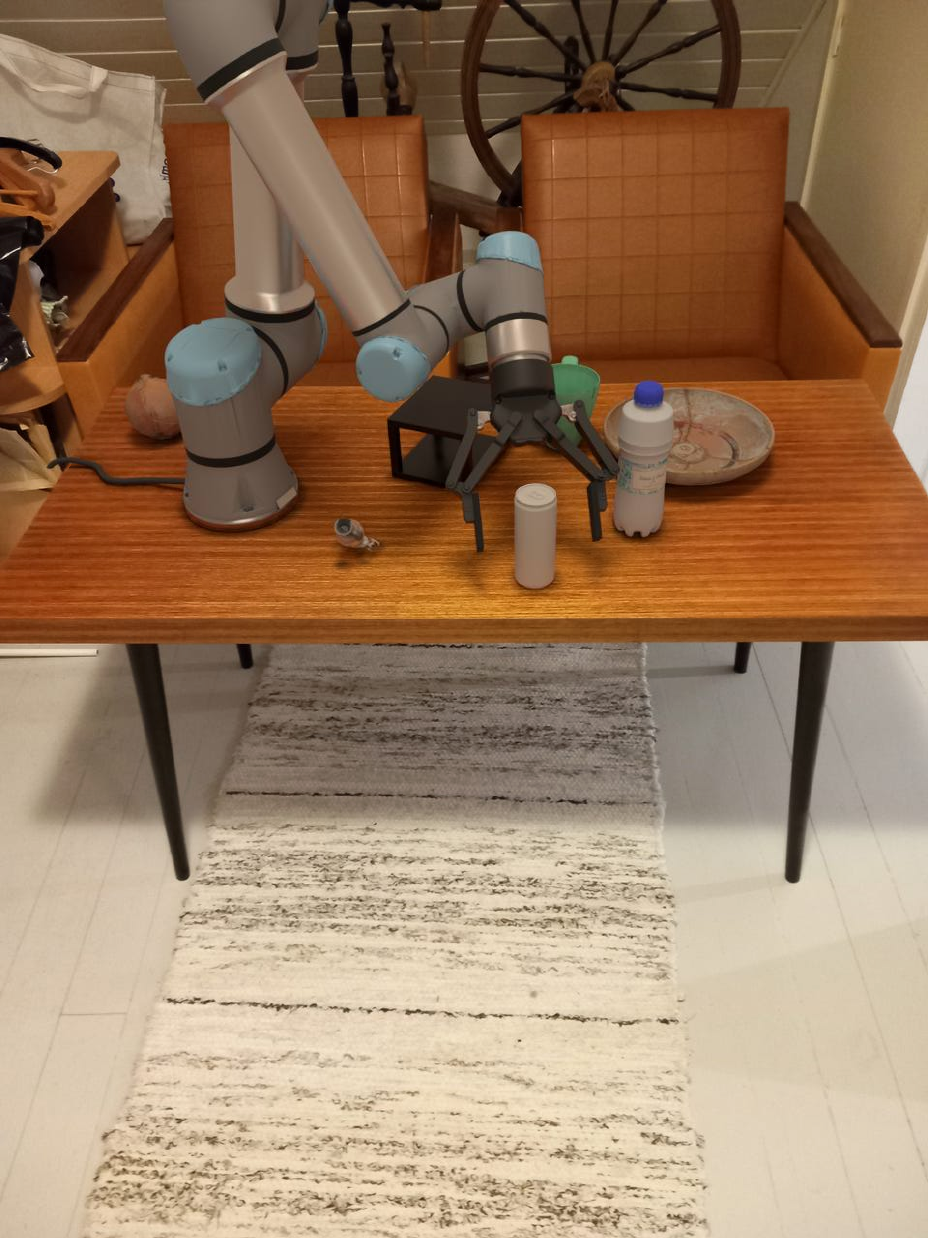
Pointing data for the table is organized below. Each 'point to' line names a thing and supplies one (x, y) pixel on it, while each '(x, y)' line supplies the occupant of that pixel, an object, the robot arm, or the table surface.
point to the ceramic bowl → (707, 435)
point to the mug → (574, 391)
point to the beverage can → (535, 535)
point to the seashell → (351, 533)
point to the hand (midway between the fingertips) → (539, 545)
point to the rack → (439, 430)
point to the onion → (152, 408)
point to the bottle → (643, 460)
